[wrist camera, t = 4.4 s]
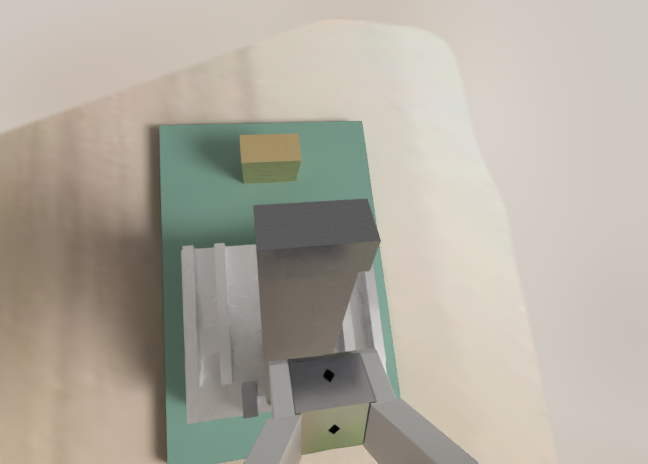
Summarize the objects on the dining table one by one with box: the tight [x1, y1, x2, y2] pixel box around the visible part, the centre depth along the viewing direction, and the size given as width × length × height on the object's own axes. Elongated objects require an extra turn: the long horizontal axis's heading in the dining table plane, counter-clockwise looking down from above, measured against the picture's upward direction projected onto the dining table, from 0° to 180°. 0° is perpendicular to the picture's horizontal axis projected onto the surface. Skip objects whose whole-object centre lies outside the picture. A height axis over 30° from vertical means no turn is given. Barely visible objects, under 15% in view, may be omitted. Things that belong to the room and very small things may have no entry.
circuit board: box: [159, 121, 401, 464], centre depth 29 cm, size 24×16×1 cm, turn 6°
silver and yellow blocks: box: [181, 133, 387, 424], centre depth 26 cm, size 18×12×6 cm
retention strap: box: [253, 199, 381, 405], centre depth 16 cm, size 16×3×2 cm
